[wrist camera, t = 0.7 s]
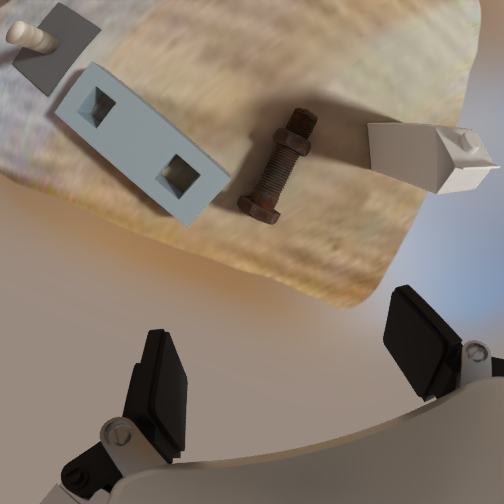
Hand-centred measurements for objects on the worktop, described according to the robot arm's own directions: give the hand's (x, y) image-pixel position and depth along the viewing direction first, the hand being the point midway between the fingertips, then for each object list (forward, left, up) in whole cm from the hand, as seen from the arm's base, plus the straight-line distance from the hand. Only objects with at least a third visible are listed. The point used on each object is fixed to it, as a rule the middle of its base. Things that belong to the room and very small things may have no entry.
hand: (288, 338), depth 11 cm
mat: (+1, -37, -29) cm, 47 cm away
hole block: (+3, -14, -29) cm, 32 cm away
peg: (+1, -37, -29) cm, 47 cm away
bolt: (-6, +1, -29) cm, 30 cm away
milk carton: (-21, +11, -29) cm, 37 cm away
